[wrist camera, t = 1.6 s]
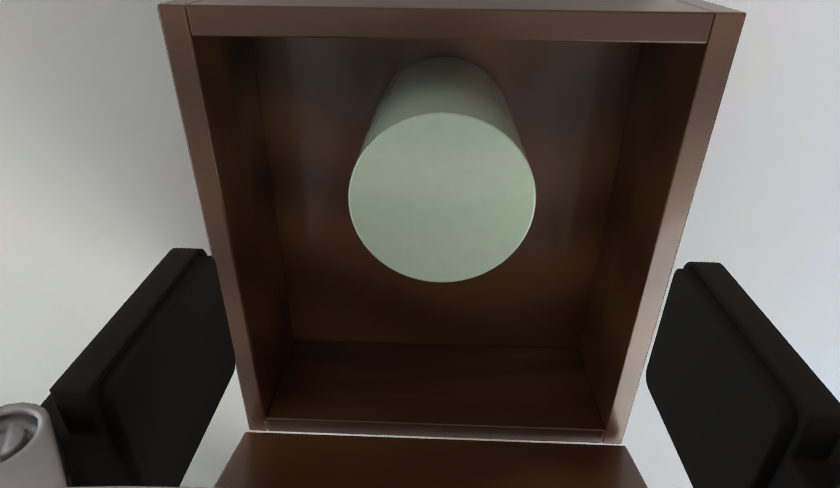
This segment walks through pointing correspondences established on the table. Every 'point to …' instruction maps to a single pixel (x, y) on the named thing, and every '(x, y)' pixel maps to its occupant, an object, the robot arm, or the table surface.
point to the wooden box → (460, 300)
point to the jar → (442, 174)
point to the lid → (422, 463)
